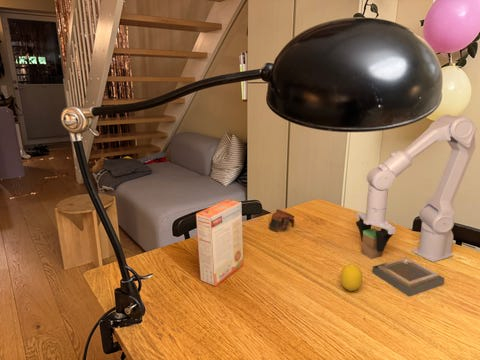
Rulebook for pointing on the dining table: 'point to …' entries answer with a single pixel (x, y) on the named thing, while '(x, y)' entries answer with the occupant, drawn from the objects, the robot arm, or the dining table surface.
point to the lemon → (351, 277)
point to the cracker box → (220, 241)
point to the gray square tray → (408, 276)
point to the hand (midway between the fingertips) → (372, 246)
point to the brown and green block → (370, 244)
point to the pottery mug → (284, 222)
